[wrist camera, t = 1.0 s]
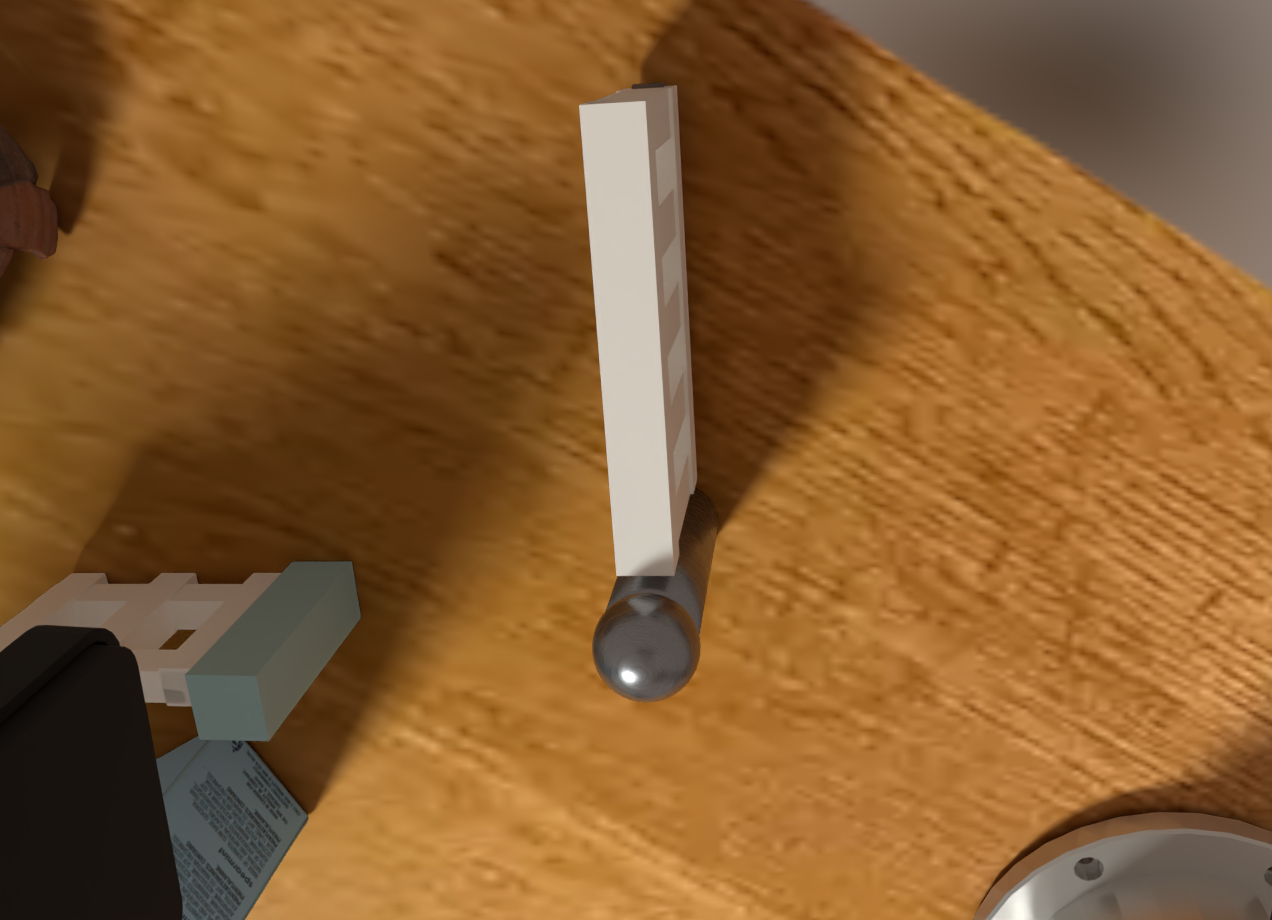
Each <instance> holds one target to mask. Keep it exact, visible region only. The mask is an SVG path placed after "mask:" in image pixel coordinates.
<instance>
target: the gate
mask: <svg viewBox="0 0 1272 920" xmlns="http://www.w3.org/2000/svg"><path fill="white" fill-rule="evenodd" d="M616 92H617V93H614V94H611V95H609V96H606V97H603V98H601V99H598V100H595V101H589V102H586V103H583V104H581V105H579V110H580V123H581V135H582V148H583V160H584V173H585V185H586V198H587V211H588V223H589V236H590V248H591V261H592V274H593V286H594V299H595V311H596V324H597V336H598V349H599V362H600V374H601V387H602V399H603V412H604V425H605V437H606V450H607V462H608V475H609V488H610V500H611V513H612V525H613V538H614V550H615V563H616V576H674V575H675V571H676V566H677V562H678V558H679V542H678V541H679V537H680V533H681V529H682V525H683V521H684V517H685V513H686V509H687V505H688V500H689V496H690V494H694V490H695V486H696V482H697V465H696V445H695V426H694V407H693V387H692V368H691V348H690V329H689V310H688V290H687V271H686V252H685V232H684V213H683V193H682V174H681V155H680V135H679V116H678V97H677V85H674V86H666V85H665V83H648V84H633V85H632V88H627V89H621V90H619V91H616Z"/></svg>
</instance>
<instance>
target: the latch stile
mask: <svg viewBox="0 0 1272 920" xmlns="http://www.w3.org/2000/svg"><path fill="white" fill-rule="evenodd" d="M360 618H361V613H360V607H359V601H358V595H357V589H356V583H355V577H354V571H353V565H352V561H327V562H292V563H291V564H290V565H289V566H288V567H287V568H286V569H285V570H284V571H283V572H282V573H281V574H280V575H279V576H278V577H277V578H276V579H275V580H274V582H273V583H272V584H271V585H270V586H269V587H268V588H267V589H266V590H265V591H264V592H263V593H262V594H261V595H260V596H259V597H258V598H257V599H256V600H255V602H254V603H253V604H252V605H251V606H250V607H249V608H248V609H247V610H246V611H245V612H244V613H243V614H242V615H241V616H240V617H239V618H238V619H237V620H236V622H235V623H234V624H233V625H232V626H231V627H230V628H229V629H228V630H227V631H226V632H225V633H224V634H223V635H222V636H221V637H220V638H219V639H218V640H217V642H216V643H215V644H214V645H213V646H212V647H211V648H210V649H209V650H208V651H207V652H206V653H205V654H204V655H203V656H202V657H201V658H200V659H199V660H198V662H197V663H196V664H195V665H194V666H193V667H192V668H191V669H190V670H189V671H188V672H187V673H186V674H185V679H186V683H187V688H188V692H189V696H190V701H191V705H192V710H193V714H194V718H195V723H196V727H197V732H198V736H199V740H236V741H270V739H271V738H272V736H273V735H274V734H275V732H276V731H277V730H278V728H279V727H280V726H281V724H282V723H283V722H284V720H285V719H286V718H287V716H288V715H289V714H290V712H291V711H292V710H293V708H294V707H295V706H296V704H297V703H298V702H299V700H300V699H301V698H302V696H303V695H304V694H305V692H306V691H307V690H308V688H309V687H310V686H311V684H312V683H313V681H314V680H315V679H316V677H317V676H318V675H319V673H320V672H321V671H322V669H323V668H324V667H325V665H326V664H327V663H328V661H329V660H330V659H331V657H332V656H333V655H334V653H335V652H336V651H337V649H338V648H339V647H340V645H341V644H342V643H343V641H344V640H345V639H346V637H347V636H348V635H349V633H350V632H351V631H352V629H353V628H354V626H355V625H356V624H357V622H358V621H359V620H360Z"/></svg>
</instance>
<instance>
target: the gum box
mask: <svg viewBox="0 0 1272 920" xmlns="http://www.w3.org/2000/svg"><path fill="white" fill-rule="evenodd" d="M156 762H157V768H158V773H159V778H160V784H161V789H162V794H163V800H164V805H165V810H166V815H167V821H168V826H169V831H170V837H171V842H172V847H173V853H174V858H175V863H176V868H177V874H178V879H179V884H180V890H181V895H182V903H183V913H182V920H245V919H246V917H247V916H248V914H249V912H250V911H251V909H252V908H253V906H254V905H255V903H256V901H257V900H258V898H259V897H260V895H261V894H262V892H263V890H264V889H265V887H266V885H267V884H268V882H269V880H270V879H271V877H272V876H273V874H274V872H275V871H276V869H277V868H278V866H279V865H280V863H281V861H282V860H283V858H284V857H285V855H286V853H287V852H288V850H289V849H290V847H291V846H292V844H293V842H294V841H295V839H296V838H297V836H298V835H299V833H300V832H301V830H302V829H303V827H304V826H305V825H306V823H307V821H308V815H307V813H306V812H305V811H303V809H302V808H301V807H300V806H299V804H298V803H297V802H296V801H295V799H294V798H293V797H292V796H291V795H290V794H289V793H288V791H287V790H286V789H285V787H284V786H283V785H282V784H281V782H280V781H279V780H278V779H277V778H276V776H275V775H274V774H273V773H272V771H271V770H270V769H269V768H268V767H267V765H266V764H265V763H264V762H263V761H262V759H261V758H260V757H259V756H258V755H257V753H256V752H255V751H254V750H253V749H252V748H251V747H250V745H249V744H248V743H247V742H246V741H236V740H199V736H197V737H195V738H193V739H192V740H190V741H188V742H186V743H185V744H183V745H181V746H179V747H177V748H176V749H174V750H172V751H170V752H169V753H167V754H165V755H163V756H162V757H160V758H158V759H156Z"/></svg>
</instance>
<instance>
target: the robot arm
mask: <svg viewBox="0 0 1272 920" xmlns="http://www.w3.org/2000/svg"><path fill="white" fill-rule="evenodd" d="M182 913H183V903H182V895H181V890H180V884H179V879H178V874H177V868H176V863H175V858H174V853H173V847H172V842H171V837H170V831H169V826H168V821H167V815H166V810H165V805H164V800H163V794H162V789H161V784H160V778H159V773H158V768H157V762H156V757H155V752H154V747H153V741H152V736H151V731H150V725H149V720H148V715H147V709H146V704H145V699H144V694H143V688H142V683H141V678H140V672H139V667H138V663H137V660H136V657H135V655H134V654H133V652H132V651H131V650H130V649H129V648H127V647H124V646H120V643H119V641H118V639H117V638H116V636H115V635H114V634H113V632H111V631H109V630H107V629H105V628H92V627H75V626H57V625H36V626H35V627H33V628H31V629H29V630H27V631H26V632H24V633H23V634H22V635H21V636H19V637H18V638H17V639H16V640H14V641H13V642H12V643H11V644H9V645H8V646H7V647H6V648H4V649H3V650H2V651H1V652H0V920H182ZM973 920H1272V832H1271V831H1268V830H1265V829H1263V828H1260V827H1257V826H1254V825H1251V824H1248V823H1246V822H1243V821H1240V820H1235V819H1229V818H1224V817H1218V816H1213V815H1207V814H1202V813H1177V812H1155V813H1146V814H1138V815H1130V816H1122V817H1116V818H1113V819H1109V820H1105V821H1102V822H1098V823H1095V824H1091V825H1088V826H1084V827H1080V828H1078V829H1076V830H1074V831H1072V832H1069V833H1067V834H1065V835H1063V836H1061V837H1059V838H1056V839H1054V840H1052V841H1050V842H1048V843H1046V844H1044V845H1042V846H1041V847H1040V848H1038V849H1037V850H1035V851H1034V852H1032V853H1031V854H1029V855H1028V856H1027V857H1025V858H1024V859H1022V860H1021V861H1019V862H1018V863H1016V864H1015V865H1014V866H1013V867H1012V868H1011V869H1010V870H1009V871H1008V872H1007V873H1006V874H1005V875H1004V876H1003V877H1002V878H1001V879H1000V880H999V881H998V882H997V883H996V884H995V885H994V886H993V887H992V889H991V890H990V892H989V893H988V895H987V896H986V898H985V899H984V901H983V903H982V904H981V906H980V907H979V909H978V910H977V912H976V913H975V915H974V918H973Z"/></svg>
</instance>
